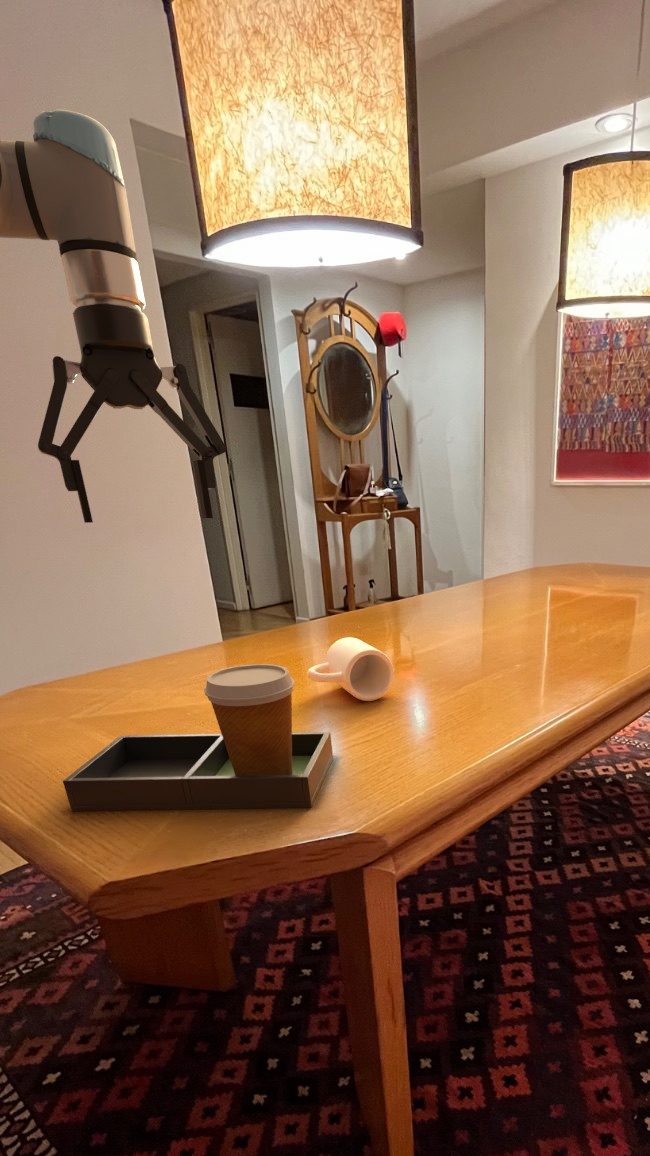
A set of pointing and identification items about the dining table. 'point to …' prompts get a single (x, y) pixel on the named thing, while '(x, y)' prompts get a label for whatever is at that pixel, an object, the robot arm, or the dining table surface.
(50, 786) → the dining table surface
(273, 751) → the disposable coffee cup
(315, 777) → the caddy
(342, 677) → the mug
